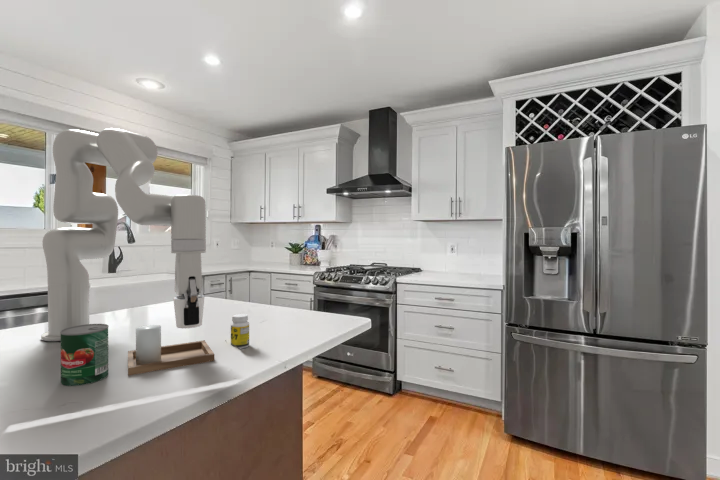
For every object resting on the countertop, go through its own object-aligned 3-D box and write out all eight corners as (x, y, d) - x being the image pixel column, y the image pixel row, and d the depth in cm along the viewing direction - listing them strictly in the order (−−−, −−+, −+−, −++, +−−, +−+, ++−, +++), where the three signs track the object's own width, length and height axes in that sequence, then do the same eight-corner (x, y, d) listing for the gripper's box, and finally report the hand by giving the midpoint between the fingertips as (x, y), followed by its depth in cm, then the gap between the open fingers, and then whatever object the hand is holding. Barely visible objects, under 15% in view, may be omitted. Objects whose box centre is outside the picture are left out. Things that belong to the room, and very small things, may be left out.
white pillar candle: (135, 361, 85) (135, 326, 85) (160, 357, 88) (160, 323, 88) (136, 367, 81) (135, 331, 81) (162, 363, 84) (161, 328, 84)
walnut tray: (128, 360, 88) (127, 351, 88) (204, 348, 97) (204, 340, 97) (128, 379, 77) (128, 368, 77) (214, 364, 86) (214, 354, 86)
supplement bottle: (227, 346, 99) (227, 315, 99) (243, 342, 103) (243, 312, 103) (236, 350, 96) (236, 318, 96) (252, 346, 100) (252, 315, 99)
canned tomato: (54, 392, 70) (53, 335, 70) (67, 377, 78) (67, 325, 77) (104, 386, 74) (103, 331, 73) (112, 372, 81) (112, 322, 81)
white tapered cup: (166, 328, 86) (166, 298, 86) (186, 321, 93) (186, 293, 93) (193, 329, 85) (192, 299, 85) (210, 322, 92) (210, 294, 92)
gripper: (167, 246, 94) (168, 316, 94) (175, 248, 79) (176, 331, 80) (199, 245, 98) (200, 313, 98) (212, 247, 83) (213, 327, 84)
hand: (189, 320), depth 89 cm, fingers closed on white tapered cup, 6 cm apart
